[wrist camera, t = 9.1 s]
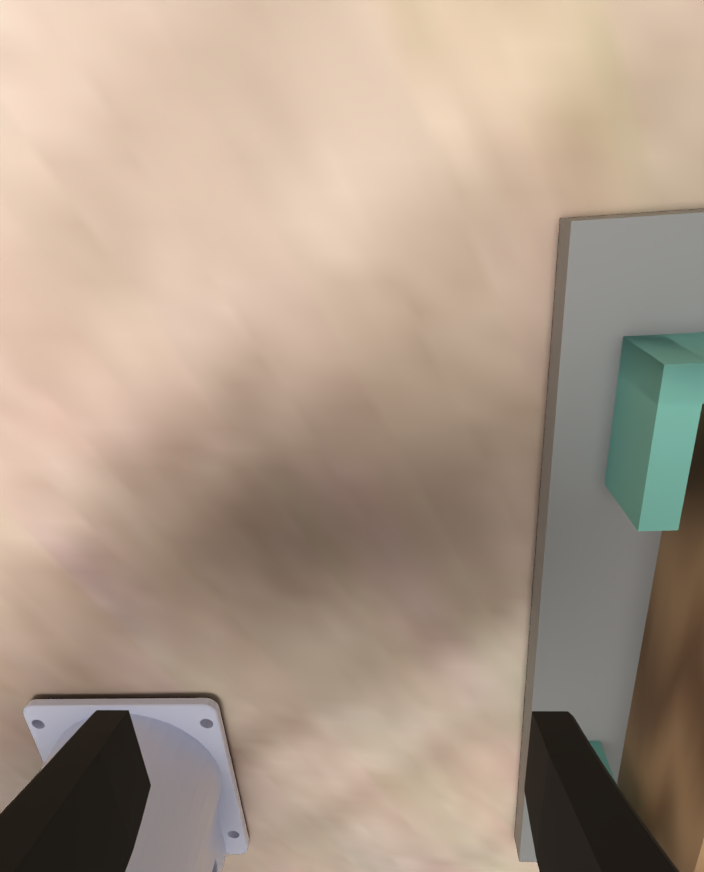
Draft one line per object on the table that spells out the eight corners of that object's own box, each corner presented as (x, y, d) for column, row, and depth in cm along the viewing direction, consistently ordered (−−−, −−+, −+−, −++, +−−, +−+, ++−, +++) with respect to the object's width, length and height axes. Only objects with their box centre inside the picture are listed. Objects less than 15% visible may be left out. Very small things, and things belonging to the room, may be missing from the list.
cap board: (749, 840, 25) (802, 936, 22) (514, 837, 26) (532, 930, 23) (969, 190, 14) (1133, 194, 11) (560, 218, 15) (606, 230, 12)
